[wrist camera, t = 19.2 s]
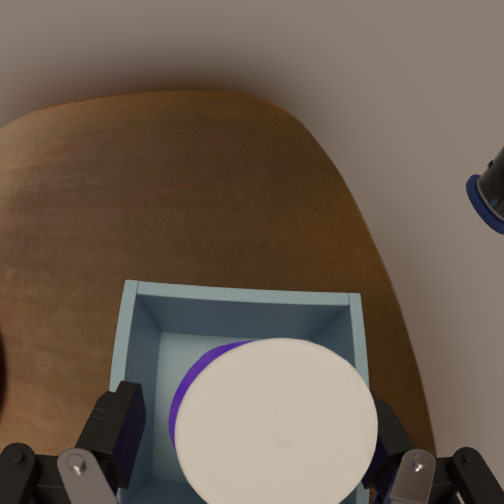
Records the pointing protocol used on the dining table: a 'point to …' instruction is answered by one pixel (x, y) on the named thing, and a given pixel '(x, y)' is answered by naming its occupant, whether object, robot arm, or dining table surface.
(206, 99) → the dining table surface
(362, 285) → the dining table surface
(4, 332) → the dining table surface
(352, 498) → the blue-gray open bin
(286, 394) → the bottle
